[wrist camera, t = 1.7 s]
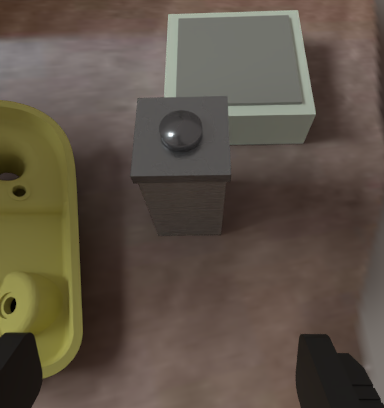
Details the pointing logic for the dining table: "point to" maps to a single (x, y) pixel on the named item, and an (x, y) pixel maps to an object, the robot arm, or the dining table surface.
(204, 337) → the dining table surface
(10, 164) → the plastic component
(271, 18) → the stand
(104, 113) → the dining table surface
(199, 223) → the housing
